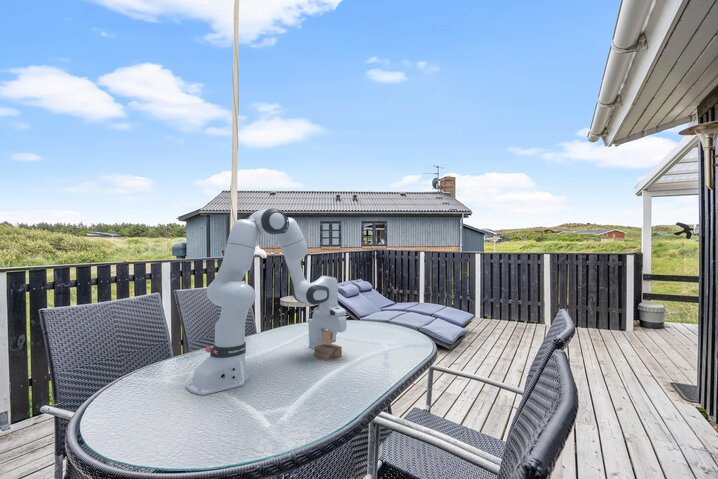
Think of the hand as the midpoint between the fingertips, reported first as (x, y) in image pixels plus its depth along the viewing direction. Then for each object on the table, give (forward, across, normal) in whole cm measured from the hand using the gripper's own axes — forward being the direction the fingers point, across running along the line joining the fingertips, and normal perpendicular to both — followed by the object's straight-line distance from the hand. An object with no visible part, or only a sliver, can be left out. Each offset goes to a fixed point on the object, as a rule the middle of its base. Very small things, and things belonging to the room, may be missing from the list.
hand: (328, 338), depth 171 cm
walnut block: (+9, 0, 0) cm, 9 cm away
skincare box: (+9, -14, +6) cm, 18 cm away
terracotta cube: (+2, 0, 0) cm, 2 cm away
